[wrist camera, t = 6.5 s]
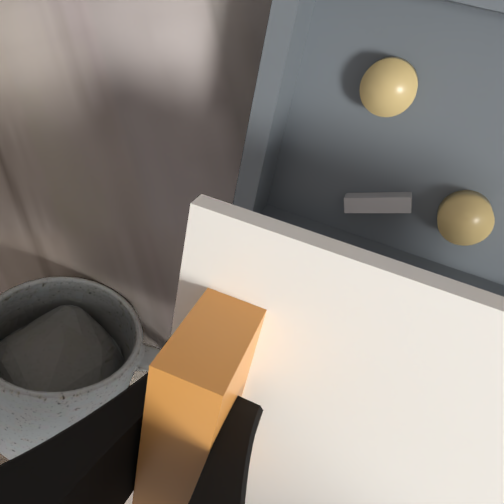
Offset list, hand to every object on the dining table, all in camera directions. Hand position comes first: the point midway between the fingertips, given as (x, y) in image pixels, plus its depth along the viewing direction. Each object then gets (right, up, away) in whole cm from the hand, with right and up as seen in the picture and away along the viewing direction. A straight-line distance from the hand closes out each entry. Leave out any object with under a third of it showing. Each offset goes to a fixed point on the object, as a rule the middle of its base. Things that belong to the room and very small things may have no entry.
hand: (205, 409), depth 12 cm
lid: (+6, -1, 0) cm, 6 cm away
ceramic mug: (-7, -1, +16) cm, 17 cm away
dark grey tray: (+8, +8, +4) cm, 12 cm away
